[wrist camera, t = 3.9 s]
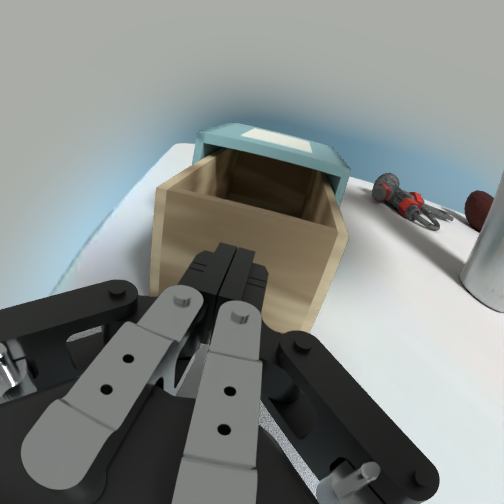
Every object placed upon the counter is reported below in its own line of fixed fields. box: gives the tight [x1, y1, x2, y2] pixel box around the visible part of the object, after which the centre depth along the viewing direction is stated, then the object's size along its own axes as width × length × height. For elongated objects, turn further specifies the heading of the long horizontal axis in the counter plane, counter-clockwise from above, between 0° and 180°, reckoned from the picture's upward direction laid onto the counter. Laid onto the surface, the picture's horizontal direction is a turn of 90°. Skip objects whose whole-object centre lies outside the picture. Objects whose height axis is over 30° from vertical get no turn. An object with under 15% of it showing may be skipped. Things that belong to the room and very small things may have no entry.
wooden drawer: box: [150, 147, 349, 333], centre depth 26 cm, size 22×10×7 cm, turn 172°
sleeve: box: [192, 122, 351, 207], centre depth 30 cm, size 13×12×10 cm
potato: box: [465, 191, 494, 231], centre depth 63 cm, size 11×13×10 cm
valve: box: [372, 173, 453, 230], centre depth 56 cm, size 6×26×15 cm
